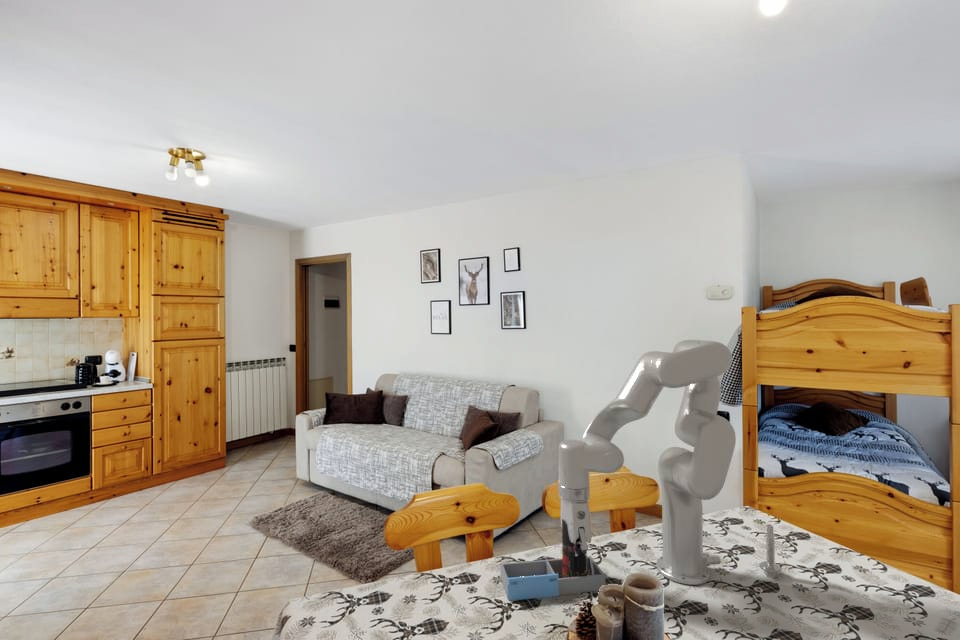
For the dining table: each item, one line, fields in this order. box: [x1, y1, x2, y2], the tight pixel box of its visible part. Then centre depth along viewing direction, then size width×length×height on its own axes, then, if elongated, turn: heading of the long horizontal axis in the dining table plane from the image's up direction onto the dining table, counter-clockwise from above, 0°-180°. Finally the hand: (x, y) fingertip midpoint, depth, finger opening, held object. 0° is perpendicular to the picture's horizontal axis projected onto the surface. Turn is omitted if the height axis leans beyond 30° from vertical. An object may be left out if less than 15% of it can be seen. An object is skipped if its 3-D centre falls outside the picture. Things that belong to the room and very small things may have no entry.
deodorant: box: [561, 519, 588, 578], centre depth 112 cm, size 6×6×15 cm
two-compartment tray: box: [499, 555, 606, 602], centre depth 111 cm, size 24×10×5 cm, turn 98°
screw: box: [758, 523, 783, 579], centre depth 114 cm, size 13×5×5 cm
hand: (574, 563), depth 112 cm, fingers closed on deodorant, 5 cm apart
